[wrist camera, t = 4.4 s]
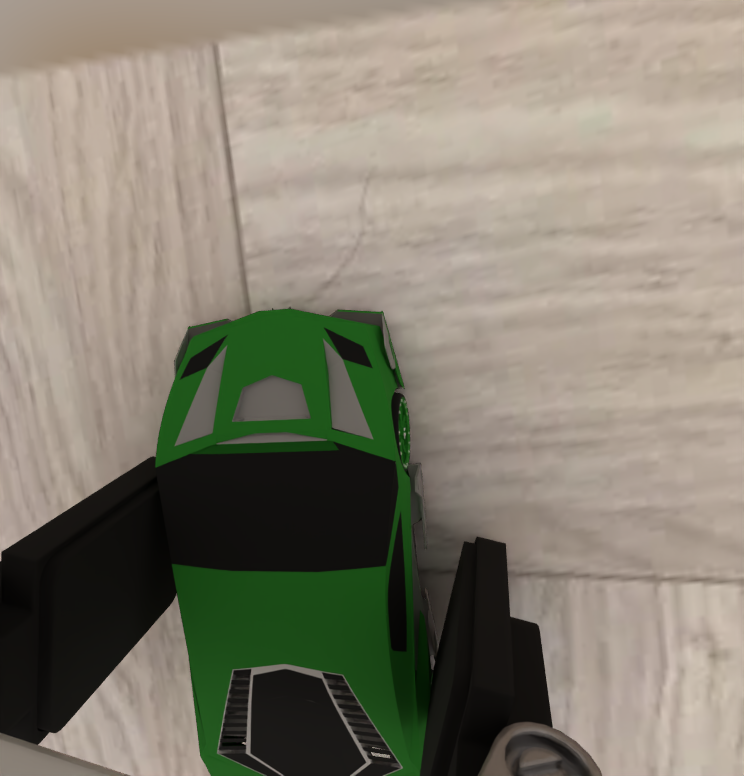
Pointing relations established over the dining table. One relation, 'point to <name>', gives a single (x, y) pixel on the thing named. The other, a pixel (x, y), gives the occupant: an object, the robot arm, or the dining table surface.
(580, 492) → the dining table surface
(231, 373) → the toy car
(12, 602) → the robot arm
